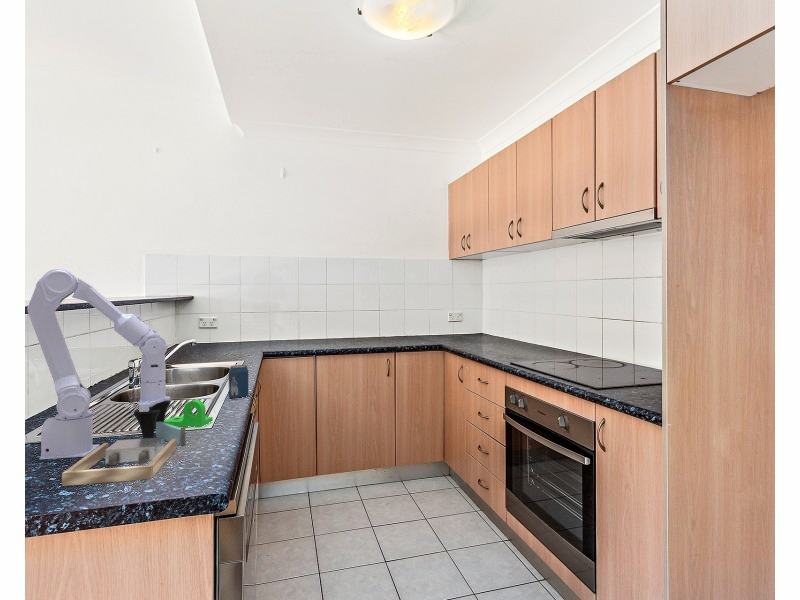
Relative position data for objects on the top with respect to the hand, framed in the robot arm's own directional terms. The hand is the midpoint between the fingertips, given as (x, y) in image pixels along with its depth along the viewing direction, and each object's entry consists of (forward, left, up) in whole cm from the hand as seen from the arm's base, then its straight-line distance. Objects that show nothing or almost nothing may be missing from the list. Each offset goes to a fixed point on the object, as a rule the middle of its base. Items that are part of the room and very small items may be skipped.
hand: (153, 433), depth 116 cm
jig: (0, -18, -2) cm, 18 cm away
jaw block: (0, -13, -2) cm, 13 cm away
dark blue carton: (+15, +48, -2) cm, 50 cm away
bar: (+9, -7, -2) cm, 12 cm away
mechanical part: (+5, +13, -2) cm, 14 cm away
